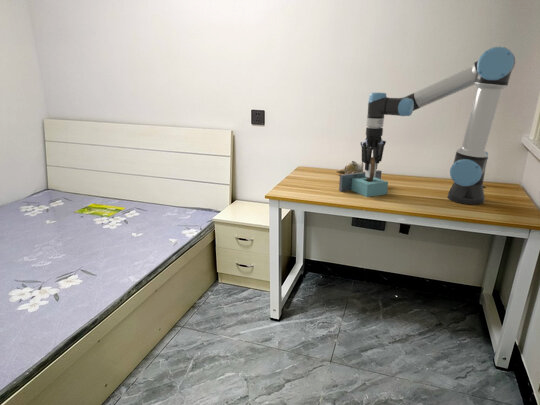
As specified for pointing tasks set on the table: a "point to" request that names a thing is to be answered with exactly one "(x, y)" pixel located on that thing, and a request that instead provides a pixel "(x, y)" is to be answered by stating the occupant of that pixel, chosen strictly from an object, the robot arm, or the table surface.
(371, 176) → the dowel
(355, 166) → the ceramic sculpture
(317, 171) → the table surface
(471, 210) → the table surface
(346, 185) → the backstop
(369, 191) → the block
